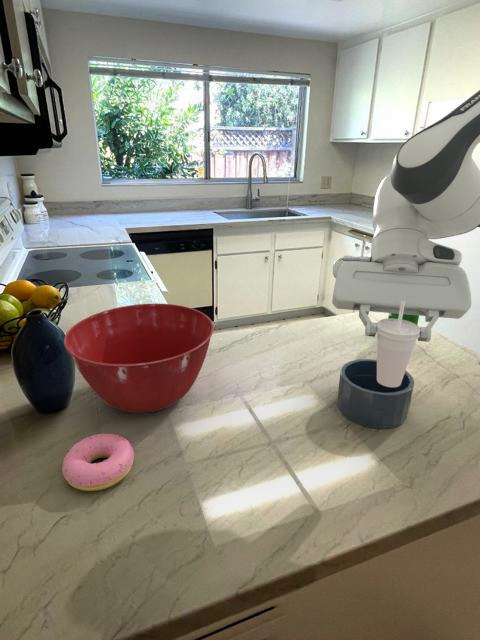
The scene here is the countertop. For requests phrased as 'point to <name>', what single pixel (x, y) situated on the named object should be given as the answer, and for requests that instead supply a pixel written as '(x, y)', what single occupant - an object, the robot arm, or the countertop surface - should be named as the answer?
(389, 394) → the pot
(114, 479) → the doughnut
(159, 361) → the mixing bowl
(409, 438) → the countertop surface
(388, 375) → the smoothie
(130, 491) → the countertop surface
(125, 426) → the countertop surface
